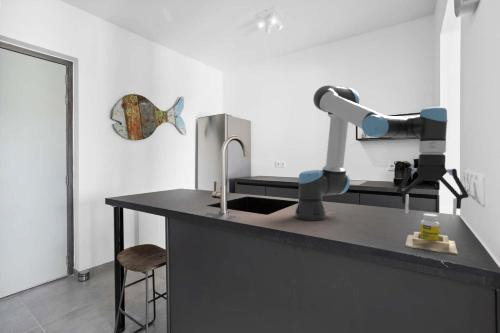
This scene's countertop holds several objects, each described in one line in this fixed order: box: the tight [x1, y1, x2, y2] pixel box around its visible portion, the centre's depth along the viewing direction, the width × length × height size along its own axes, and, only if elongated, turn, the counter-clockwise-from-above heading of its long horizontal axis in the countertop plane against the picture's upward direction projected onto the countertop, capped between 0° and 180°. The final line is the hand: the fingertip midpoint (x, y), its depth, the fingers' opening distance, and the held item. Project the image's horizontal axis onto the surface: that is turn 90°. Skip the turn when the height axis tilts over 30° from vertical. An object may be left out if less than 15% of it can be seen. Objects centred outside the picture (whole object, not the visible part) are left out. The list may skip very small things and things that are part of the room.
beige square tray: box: [404, 231, 458, 256], centre depth 92 cm, size 14×14×2 cm
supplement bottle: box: [420, 213, 440, 241], centre depth 92 cm, size 5×5×10 cm
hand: (429, 215), depth 92 cm, fingers open, 13 cm apart
